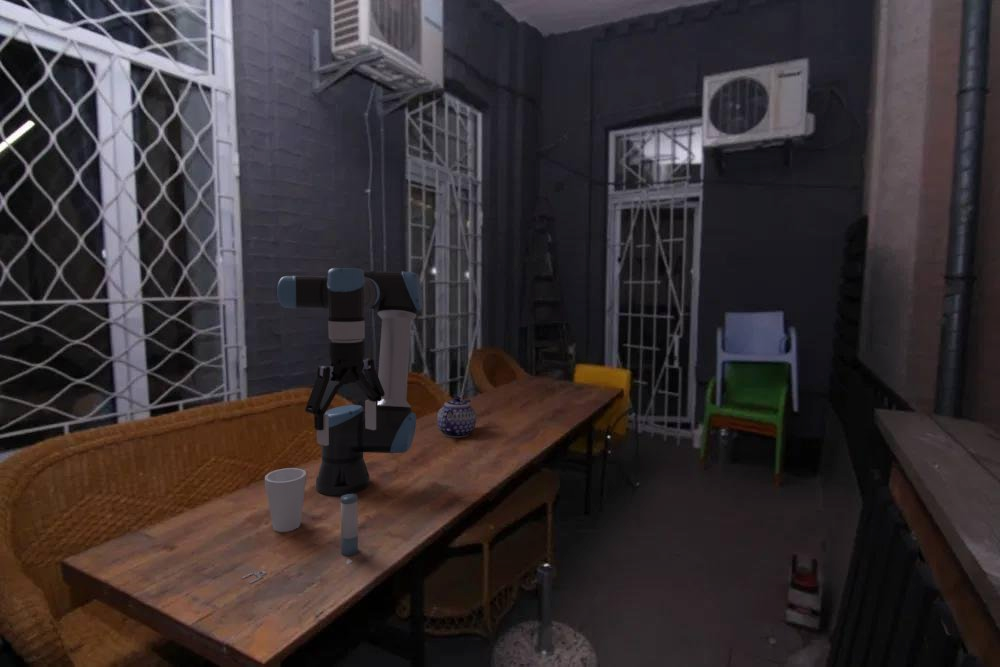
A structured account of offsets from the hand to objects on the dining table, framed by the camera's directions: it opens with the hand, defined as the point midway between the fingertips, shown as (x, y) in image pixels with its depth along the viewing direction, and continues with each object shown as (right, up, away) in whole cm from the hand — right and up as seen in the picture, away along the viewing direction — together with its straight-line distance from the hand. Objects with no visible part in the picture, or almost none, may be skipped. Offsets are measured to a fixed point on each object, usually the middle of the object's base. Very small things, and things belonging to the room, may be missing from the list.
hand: (348, 436), depth 117 cm
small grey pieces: (-12, -28, -6) cm, 31 cm away
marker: (0, -27, +3) cm, 27 cm away
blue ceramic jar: (+16, -17, +92) cm, 95 cm away
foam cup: (-19, -25, +15) cm, 35 cm away
